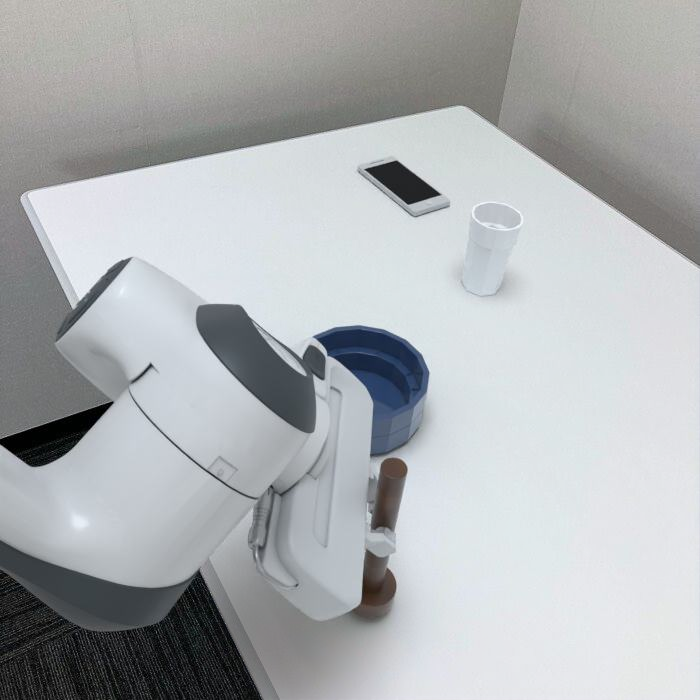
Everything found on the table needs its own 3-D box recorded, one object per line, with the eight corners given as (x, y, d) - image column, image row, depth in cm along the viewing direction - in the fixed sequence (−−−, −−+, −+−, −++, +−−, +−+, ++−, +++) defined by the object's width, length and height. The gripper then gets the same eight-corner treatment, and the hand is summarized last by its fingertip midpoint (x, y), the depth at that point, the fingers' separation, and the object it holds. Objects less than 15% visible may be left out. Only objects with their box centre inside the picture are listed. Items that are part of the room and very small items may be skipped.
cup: (481, 264, 109) (498, 196, 101) (514, 289, 105) (534, 221, 98) (446, 278, 106) (460, 210, 98) (479, 305, 102) (496, 236, 95)
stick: (363, 627, 66) (388, 502, 54) (334, 588, 69) (352, 459, 56) (403, 602, 68) (436, 475, 56) (374, 564, 71) (399, 436, 59)
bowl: (340, 479, 79) (345, 440, 75) (268, 392, 87) (268, 353, 83) (447, 424, 86) (456, 386, 82) (370, 348, 94) (375, 310, 90)
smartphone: (414, 216, 116) (415, 211, 116) (356, 169, 125) (357, 164, 125) (450, 205, 120) (451, 200, 119) (391, 160, 129) (392, 155, 128)
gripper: (282, 547, 46) (422, 642, 52) (316, 322, 61) (421, 418, 67) (209, 579, 49) (351, 665, 55) (259, 357, 64) (365, 446, 70)
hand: (390, 528), depth 61 cm, fingers closed on stick, 2 cm apart
